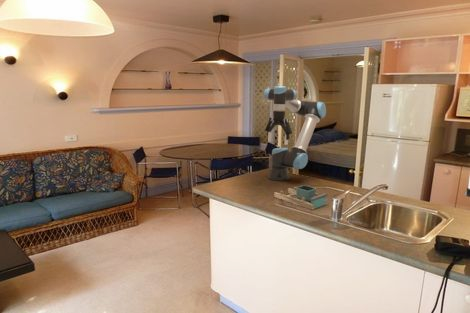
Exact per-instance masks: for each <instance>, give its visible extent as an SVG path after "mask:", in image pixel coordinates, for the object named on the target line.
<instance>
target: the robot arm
mask: <svg viewBox="0 0 470 313" xmlns="http://www.w3.org/2000/svg"><path fill="white" fill-rule="evenodd" d="M297 93H298V92H297V90H295V89H292V88H287V87H286V86H284V85H280V86H279V85H276V86H274V88H271V87H270V88H266V89H265V90H264V92H263V97H264V99H265V100H266V101H267V100H268V101H273V109H272V110H273V114H272V116H270V117H269V120H268V122H267V125H266V126H265V129H264V130H265V131H266V132H267V142H268V143H271V142H272V138H273V137H272V136H273V133H272V131H273V129H274V128H275V126H281V128H282V130H283V131H284V133H285V134H284V146H286V145H287V146H288V145H289V139H290V135H291V134H293V130H292V128H291V126H290V122H289V120H290V119H289V118H285V116H286V108H287V109H289V110H290V111H291V112H292V113H295V114H296V115H298V116H301V117H304V118H305V119H304V123H303V125H302V128H301V130H300V132H299V135H298V136H297V139H296V141H295V144H294V146H292V147H291V149H290V150H289V148H288V147H276V148H273V149H272V150H271V166H270V170H269V173H268V179H269V180H271V181H276V182H277V181H278V182H286V181H289V178H290V175H289V172H288V167H289V168H292V169H296V170H302V169H304V168H305V167H306V166H307V164H308V162H309V155H308V152H307V149H308V146H309V144H310V141H311V139H312V136H313V133H314V131H315V128H316V126H317V123H319V122H320V121H321V119H324V118H325V117H326V114H327V108H326V107H327V106H326V104H325V103H324V102H323V101H310V100H309V101H307V100H299V99H296V98H297V97H298V94H297Z"/></svg>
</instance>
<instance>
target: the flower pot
mask: <svg viewBox="0 0 470 313" xmlns="http://www.w3.org/2000/svg"><path fill="white" fill-rule="evenodd" d="M316 191H317V188H316V187H313V186H309V185H305V184H304V185H300V186H296V193H297V196H296V199H299V200H302V198H303V197H304V198H305V201H306V202H309V203H311V201H310V198H313V197H314V196H315V193H317V192H316Z"/></svg>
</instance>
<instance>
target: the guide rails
mask: <svg viewBox="0 0 470 313" xmlns="http://www.w3.org/2000/svg"><path fill="white" fill-rule="evenodd" d="M296 188H297V186H294V187H293V188H291V187H290V188H287V193H288V194H290V195H287V194H284V191H283V190H280V191H279V192H276V191H275V192H274V195H273V198H275V199H278V200H281V199H282V201H284V202H288V203H290V204H293V205H297V206H300V207H303V208H305V209H308V210H315V209H314V204H312V203H311V202H310V203H309V202H306V201H305V198H304V197H303V198H302V200H299V199H298V198H297V193H296ZM318 195H319V193H318V192H315V196H318ZM294 196H296V198H295V197H294ZM315 196H314V197H315ZM327 204H328V199H327V198H326V203H325V205H324V206H326V205H327Z"/></svg>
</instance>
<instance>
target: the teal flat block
mask: <svg viewBox="0 0 470 313" xmlns="http://www.w3.org/2000/svg"><path fill="white" fill-rule="evenodd" d="M328 195H329V194H328V193H325V192H324V193H321V194H318V196H315V197H313V198H310V201H311V202H310V203H312V204H314V209H313V210H315V209H318V208H320V207H324V206H326V205H325V203H326V199H327V197H328Z"/></svg>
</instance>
